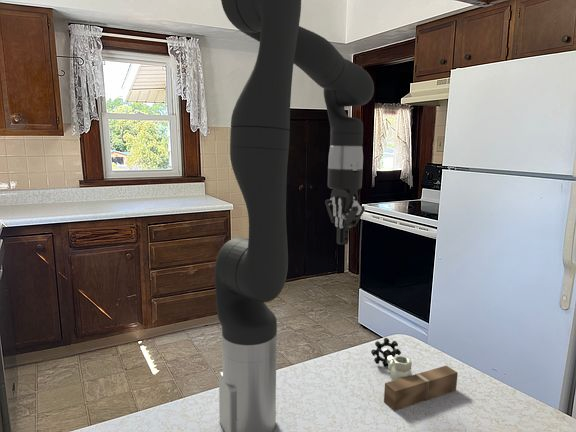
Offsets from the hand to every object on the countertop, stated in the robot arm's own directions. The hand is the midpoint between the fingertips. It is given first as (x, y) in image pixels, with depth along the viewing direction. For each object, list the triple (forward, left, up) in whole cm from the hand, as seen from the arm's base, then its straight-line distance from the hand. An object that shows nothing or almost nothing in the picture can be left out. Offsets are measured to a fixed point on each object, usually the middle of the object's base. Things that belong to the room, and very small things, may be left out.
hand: (342, 243), depth 95 cm
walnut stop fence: (+6, -21, -27) cm, 35 cm away
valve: (+5, -14, -27) cm, 31 cm away
